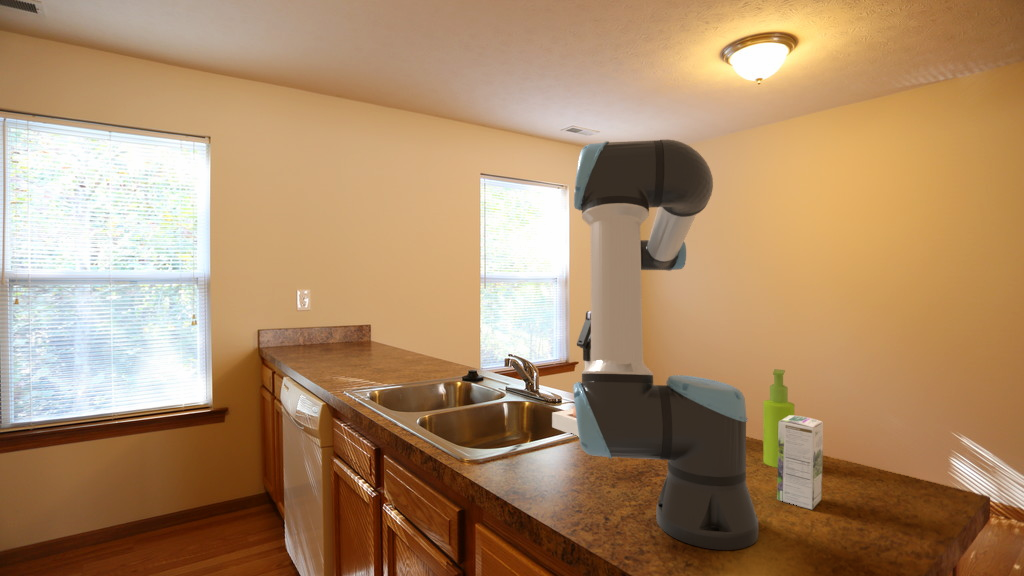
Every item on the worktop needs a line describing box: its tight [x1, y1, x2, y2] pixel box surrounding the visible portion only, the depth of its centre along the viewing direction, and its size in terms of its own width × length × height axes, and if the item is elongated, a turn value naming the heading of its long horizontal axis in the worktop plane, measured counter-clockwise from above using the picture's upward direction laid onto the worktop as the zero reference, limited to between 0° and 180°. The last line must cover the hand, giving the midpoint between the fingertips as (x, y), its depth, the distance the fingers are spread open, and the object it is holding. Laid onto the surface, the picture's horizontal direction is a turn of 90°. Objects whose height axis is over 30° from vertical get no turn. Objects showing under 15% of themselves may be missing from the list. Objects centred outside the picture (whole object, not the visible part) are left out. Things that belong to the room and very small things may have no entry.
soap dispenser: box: [762, 368, 795, 469], centre depth 108 cm, size 6×7×20 cm
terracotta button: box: [572, 406, 576, 418], centre depth 132 cm, size 5×5×3 cm
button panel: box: [551, 408, 579, 438], centre depth 137 cm, size 26×14×4 cm, turn 125°
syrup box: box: [776, 415, 824, 510], centre depth 89 cm, size 6×6×14 cm
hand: (607, 370), depth 137 cm, fingers open, 13 cm apart
